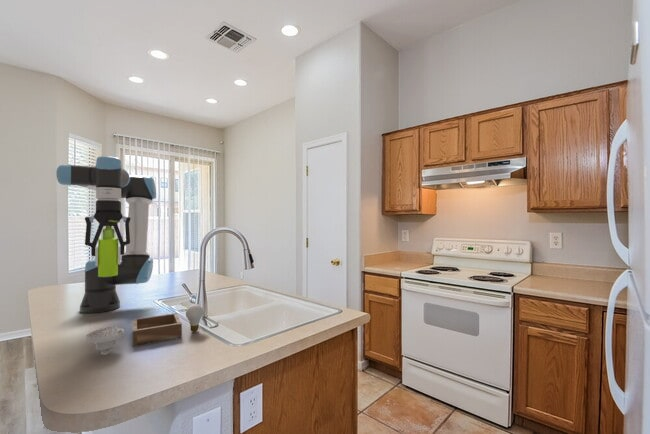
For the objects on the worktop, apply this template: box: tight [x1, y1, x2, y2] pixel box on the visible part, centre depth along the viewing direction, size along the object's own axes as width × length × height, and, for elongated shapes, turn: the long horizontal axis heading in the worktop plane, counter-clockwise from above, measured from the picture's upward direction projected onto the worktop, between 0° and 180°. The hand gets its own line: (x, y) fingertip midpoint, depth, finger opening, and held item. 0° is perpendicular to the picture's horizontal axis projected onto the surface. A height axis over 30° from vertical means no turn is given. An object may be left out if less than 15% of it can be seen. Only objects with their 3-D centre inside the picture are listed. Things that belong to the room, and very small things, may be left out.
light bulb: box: [185, 303, 204, 333], centre depth 114 cm, size 6×6×10 cm
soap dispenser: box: [97, 220, 121, 277], centre depth 113 cm, size 6×7×20 cm
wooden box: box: [132, 312, 183, 348], centre depth 111 cm, size 14×14×5 cm
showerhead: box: [86, 326, 125, 356], centre depth 96 cm, size 9×7×10 cm
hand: (108, 264), depth 113 cm, fingers closed on soap dispenser, 6 cm apart
